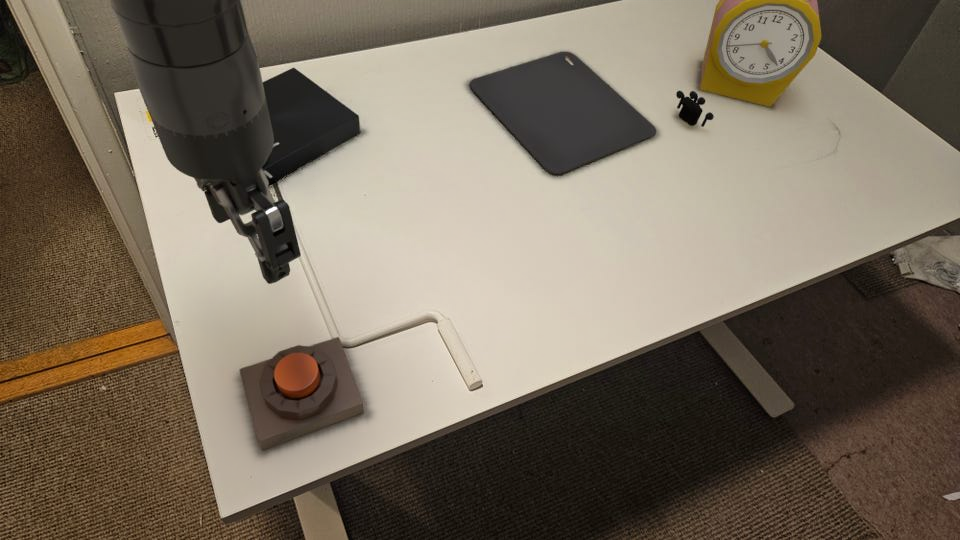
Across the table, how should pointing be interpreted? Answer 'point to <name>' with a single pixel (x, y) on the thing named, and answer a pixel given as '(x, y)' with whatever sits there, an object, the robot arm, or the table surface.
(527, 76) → the mouse pad
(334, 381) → the button block
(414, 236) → the table surface
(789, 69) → the alarm clock
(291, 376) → the button
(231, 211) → the robot arm
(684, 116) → the wireless earbuds
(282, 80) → the stove panel
